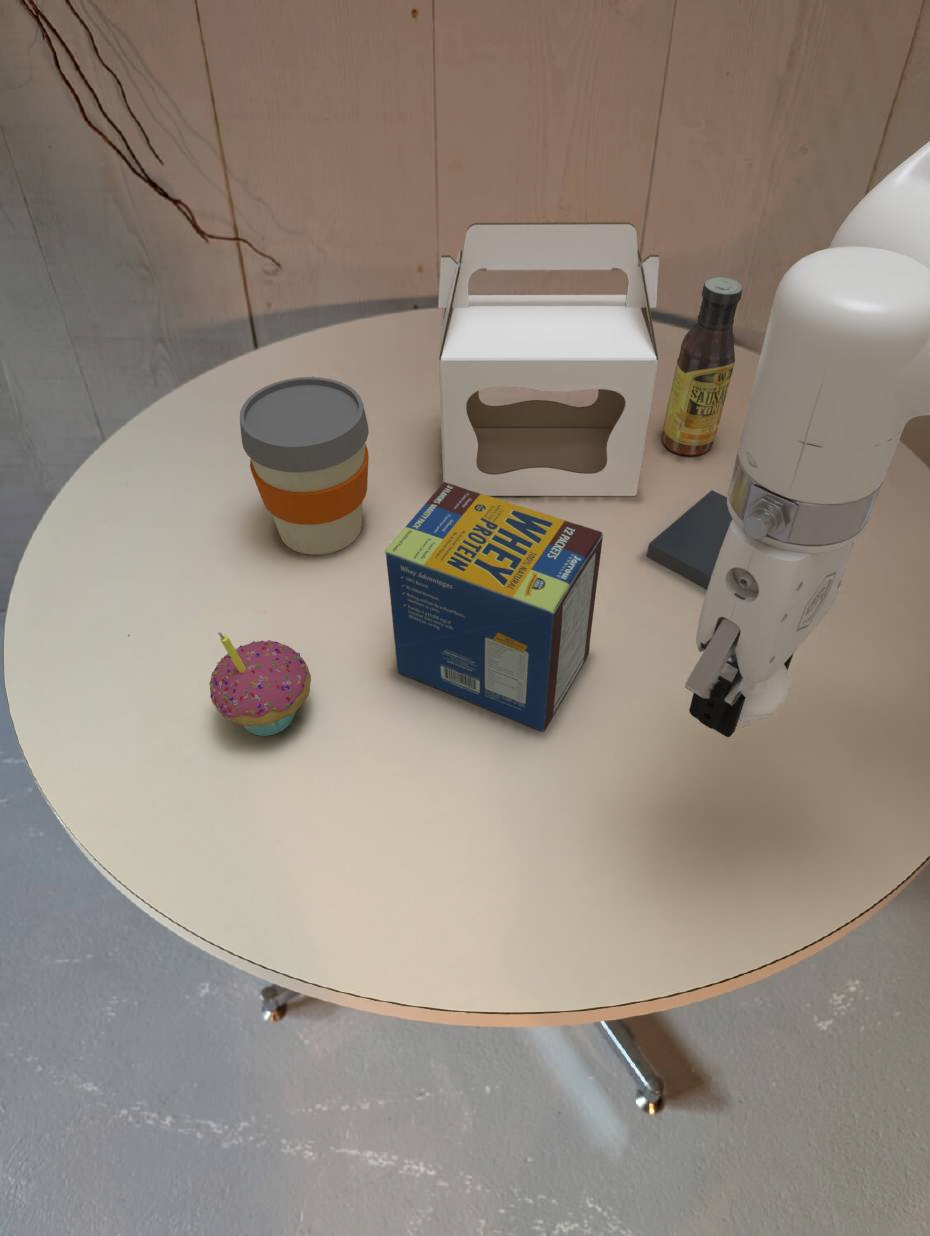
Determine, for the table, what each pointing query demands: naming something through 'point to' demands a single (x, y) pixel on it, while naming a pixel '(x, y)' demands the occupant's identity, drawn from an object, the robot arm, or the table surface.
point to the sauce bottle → (703, 371)
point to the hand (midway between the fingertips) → (738, 691)
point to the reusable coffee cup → (309, 460)
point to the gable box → (547, 364)
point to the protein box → (493, 602)
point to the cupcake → (260, 685)
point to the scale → (694, 540)
